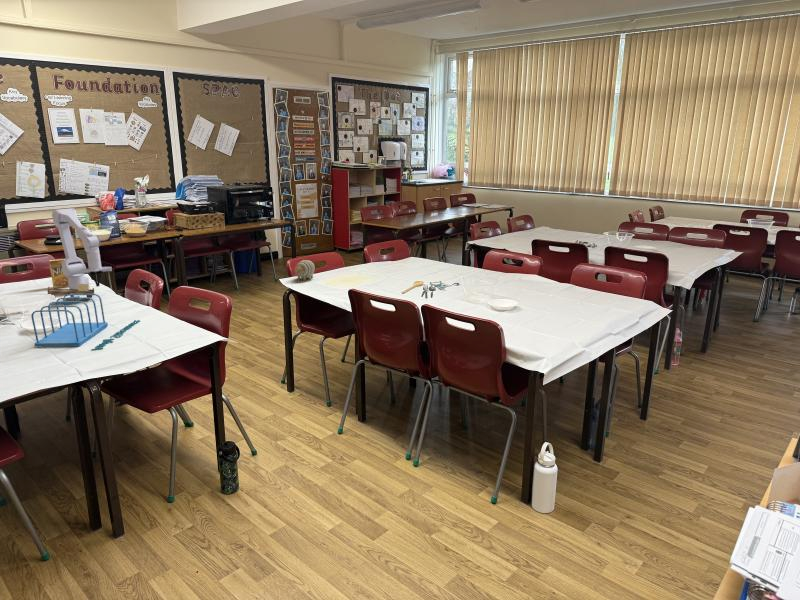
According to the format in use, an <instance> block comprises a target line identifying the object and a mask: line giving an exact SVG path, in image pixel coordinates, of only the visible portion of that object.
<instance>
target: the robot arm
mask: <svg viewBox="0 0 800 600" xmlns="http://www.w3.org/2000/svg"><path fill="white" fill-rule="evenodd" d="M51 217H52V218H51V219H52V222H53V225H54V226H55V227H57V230H58V234H59V238H60V240H61V244H62V248H63V252H64V255H65V258H64V259H65V260H64V261H63V262H62V272H63V274H64V275H65V276H67V278H68V284H69V287H68V289H78V284H88V289H89V290H92V288H90V281H89V280H90V279H89V277H88V275H87V274H90V276H91V278H92V279H93V281H94V283H95V286H96V287H97V288H98V287H100V283H101V277H102V275H103V272H112V269H113V268H112V266H102V261H101V254H100V249H99V247H100V246H101V239H100V237H99V236H98V235H95V234H93V233H92V232H91V230H89V228H88V227H87V226H84V225H82V223H81V221H80V220H79V219H78V214H77V211H76V210H75V208H74V207H69V208H62V209H53V211H52V214H51ZM70 227H72V228H74V229H75V234H76V235H77V236H78V238H80V240H81V241H82V245H83V248H84V251H85V252H86V258H87V264H88V268H87V267H86V264H85V263H84V259H82V258H80V257H78V256H77V253H76V249H75V245H74V241H73V237H72V233H71V229H70Z"/></svg>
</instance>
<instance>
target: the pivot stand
mask: <svg viewBox="0 0 800 600" xmlns="http://www.w3.org/2000/svg"><path fill="white" fill-rule="evenodd" d="M70 294H73V292H71V293H70ZM80 296H81V295H76V296H75V295H71V296H67V298H77V297H80ZM67 301H81V299H65V302H67ZM74 304H77V303H65V305H66V306H67V305H74Z"/></svg>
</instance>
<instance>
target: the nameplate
mask: <svg viewBox="0 0 800 600" xmlns="http://www.w3.org/2000/svg"><path fill="white" fill-rule="evenodd" d="M135 322H136V323H135ZM140 322H141V320H140V319H137V320H135V319H134V320H133V322H130V323H129V324H128V325H125V327H123V328H122V329H120V330H119V331H116V332H115V333H114V334H113V335H111V336H109V338H107V339H103V340H102V342H101V343H99V344H97V345H96V346H94V348H91V349H90V350H91V352H92V351H100V350H104V347H106V345H108V344H110V343H111V344H112V343H114V340H115V339H118V338H121V337H122V336H124V333H126V332H127V331H128V330H130V329H132V328H133V327H134V325H135V326H136V325H137V324H139V323H140ZM113 337H114V338H113Z"/></svg>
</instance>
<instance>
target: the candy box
mask: <svg viewBox="0 0 800 600" xmlns="http://www.w3.org/2000/svg"><path fill="white" fill-rule="evenodd" d="M64 260H65V258H58V259H57V258H56V259H49V261H48V263H49V270H50V274H51V275H50V276H51V282H52V289H62V288H69V284H68V278H67V276H65V275H64V274H63V272H62V262H63V261H64Z"/></svg>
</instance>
